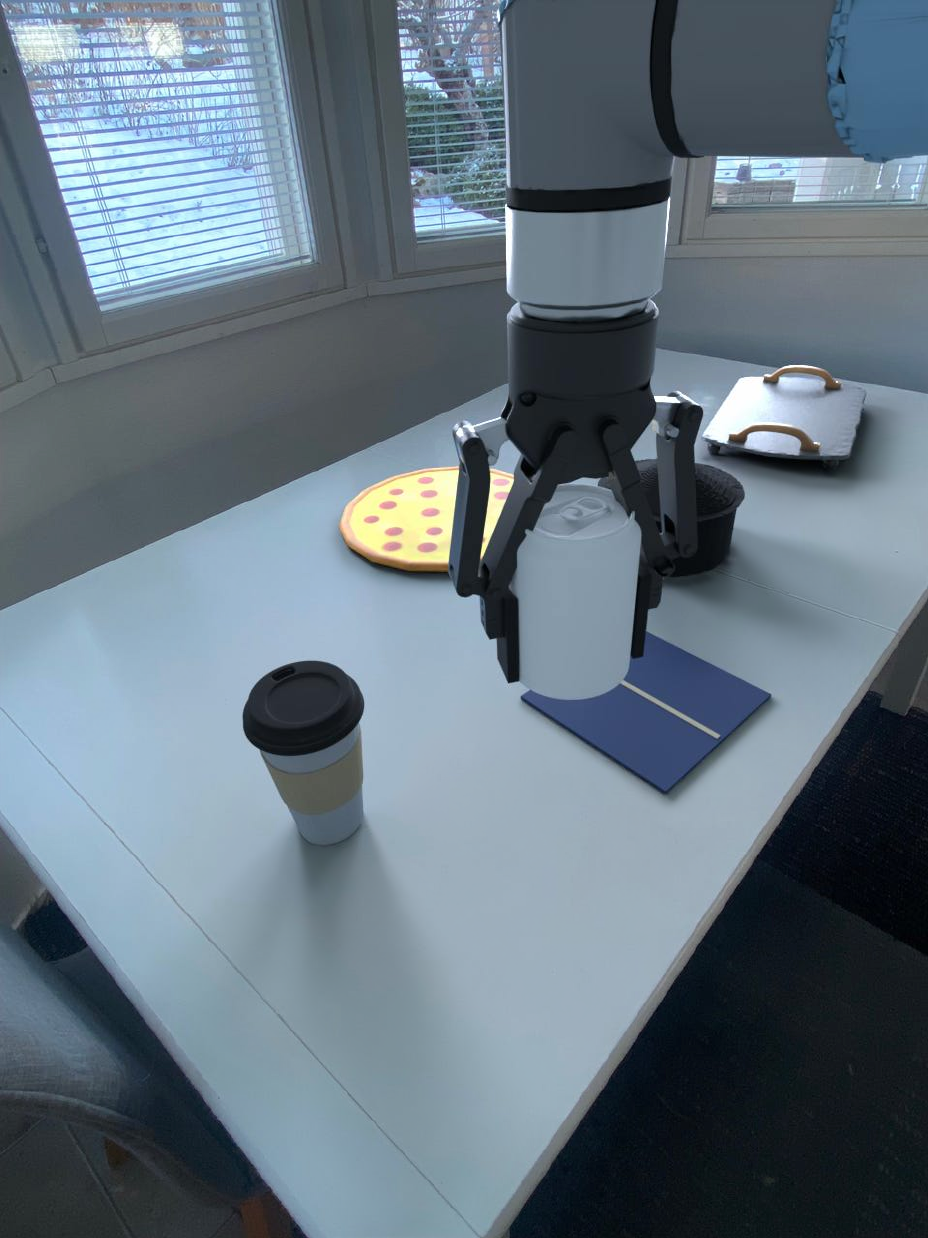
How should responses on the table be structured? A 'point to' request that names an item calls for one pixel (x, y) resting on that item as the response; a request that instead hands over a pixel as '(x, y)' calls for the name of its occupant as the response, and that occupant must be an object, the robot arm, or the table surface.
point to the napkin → (659, 713)
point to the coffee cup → (311, 745)
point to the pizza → (415, 518)
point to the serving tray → (789, 417)
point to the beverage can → (577, 594)
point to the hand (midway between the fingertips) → (569, 657)
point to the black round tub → (698, 513)
